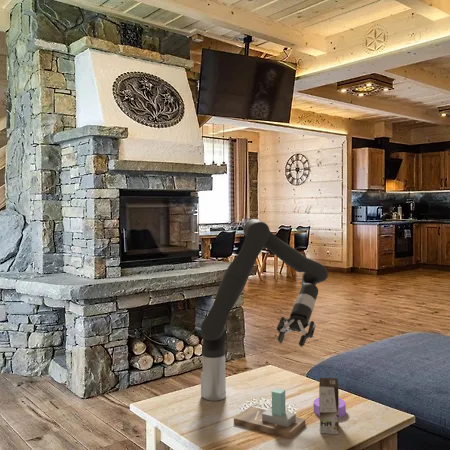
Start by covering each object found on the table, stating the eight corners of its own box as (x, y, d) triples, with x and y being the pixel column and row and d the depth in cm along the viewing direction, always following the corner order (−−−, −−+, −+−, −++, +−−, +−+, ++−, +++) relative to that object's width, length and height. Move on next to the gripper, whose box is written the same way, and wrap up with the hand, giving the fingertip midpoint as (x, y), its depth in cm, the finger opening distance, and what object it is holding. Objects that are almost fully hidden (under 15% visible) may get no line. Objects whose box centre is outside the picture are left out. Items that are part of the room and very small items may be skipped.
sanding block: (262, 420, 174) (261, 390, 174) (270, 414, 179) (269, 385, 179) (288, 427, 168) (287, 396, 168) (295, 420, 173) (295, 390, 173)
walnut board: (233, 423, 177) (233, 418, 177) (250, 411, 187) (250, 406, 187) (290, 438, 165) (290, 432, 164) (305, 424, 175) (305, 419, 174)
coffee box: (339, 434, 167) (338, 387, 166) (319, 433, 168) (318, 386, 167) (338, 423, 176) (338, 377, 175) (319, 421, 177) (319, 376, 176)
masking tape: (307, 413, 185) (307, 402, 185) (324, 403, 194) (324, 393, 194) (335, 421, 177) (335, 411, 177) (351, 411, 186) (351, 401, 186)
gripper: (283, 300, 197) (269, 335, 188) (317, 304, 189) (304, 341, 180) (289, 311, 202) (276, 346, 193) (322, 315, 194) (310, 352, 185)
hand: (290, 343), depth 187 cm, fingers open, 8 cm apart
